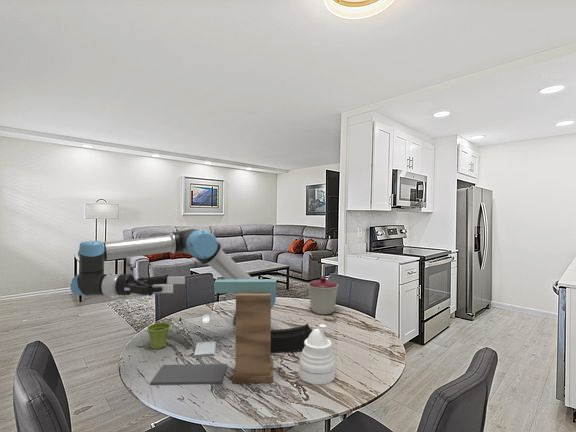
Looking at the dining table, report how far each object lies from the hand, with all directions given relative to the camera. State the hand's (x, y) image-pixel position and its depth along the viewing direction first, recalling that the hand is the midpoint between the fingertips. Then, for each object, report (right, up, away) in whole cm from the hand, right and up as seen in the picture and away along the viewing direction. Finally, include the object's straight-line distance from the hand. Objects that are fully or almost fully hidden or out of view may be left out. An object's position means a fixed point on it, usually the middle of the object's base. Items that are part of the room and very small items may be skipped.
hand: (179, 284), depth 111 cm
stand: (+27, -32, -1) cm, 42 cm away
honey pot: (+50, -33, -1) cm, 60 cm away
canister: (+60, -32, +69) cm, 97 cm away
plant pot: (-17, -32, +22) cm, 42 cm away
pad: (+5, -32, -2) cm, 33 cm away
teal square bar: (+25, -2, -1) cm, 25 cm away
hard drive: (+5, -33, +18) cm, 38 cm away
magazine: (+37, -33, +18) cm, 52 cm away
